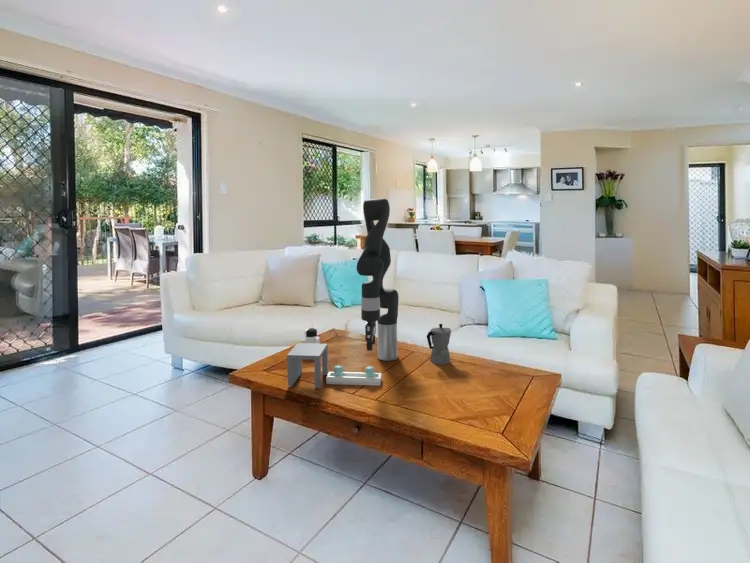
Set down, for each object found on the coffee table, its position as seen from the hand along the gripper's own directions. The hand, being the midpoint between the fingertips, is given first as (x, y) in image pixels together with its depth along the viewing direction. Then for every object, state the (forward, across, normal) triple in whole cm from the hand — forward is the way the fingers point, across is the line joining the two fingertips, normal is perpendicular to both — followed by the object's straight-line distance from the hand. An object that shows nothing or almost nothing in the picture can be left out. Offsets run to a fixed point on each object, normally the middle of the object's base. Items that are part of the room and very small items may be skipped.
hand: (371, 347), depth 181 cm
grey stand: (+15, -1, +26) cm, 30 cm away
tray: (+15, 0, +7) cm, 17 cm away
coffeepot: (+15, +28, -28) cm, 42 cm away
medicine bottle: (+15, +35, +35) cm, 51 cm away
